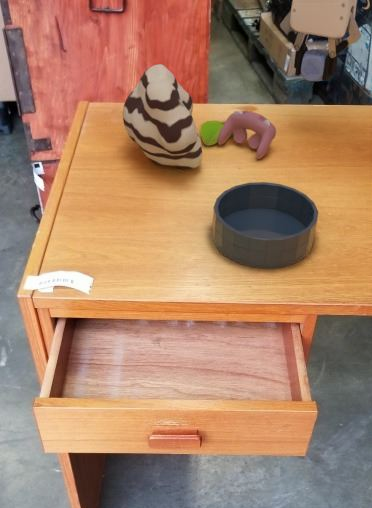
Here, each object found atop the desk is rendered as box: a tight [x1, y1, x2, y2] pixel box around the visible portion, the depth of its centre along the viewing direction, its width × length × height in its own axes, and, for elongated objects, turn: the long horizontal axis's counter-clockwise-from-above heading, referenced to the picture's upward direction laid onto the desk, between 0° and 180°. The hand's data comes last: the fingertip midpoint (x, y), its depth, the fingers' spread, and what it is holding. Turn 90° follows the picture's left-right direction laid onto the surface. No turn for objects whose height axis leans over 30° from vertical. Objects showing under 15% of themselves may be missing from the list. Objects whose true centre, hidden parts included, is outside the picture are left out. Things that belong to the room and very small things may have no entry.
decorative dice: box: [300, 48, 329, 82], centre depth 105 cm, size 4×4×4 cm
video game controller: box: [217, 110, 277, 160], centre depth 108 cm, size 10×5×7 cm, turn 56°
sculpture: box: [122, 63, 203, 171], centre depth 101 cm, size 22×12×15 cm, turn 14°
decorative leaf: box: [200, 120, 234, 147], centre depth 112 cm, size 8×9×1 cm
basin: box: [212, 181, 319, 270], centre depth 89 cm, size 15×15×5 cm
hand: (313, 74), depth 106 cm, fingers closed on decorative dice, 4 cm apart
